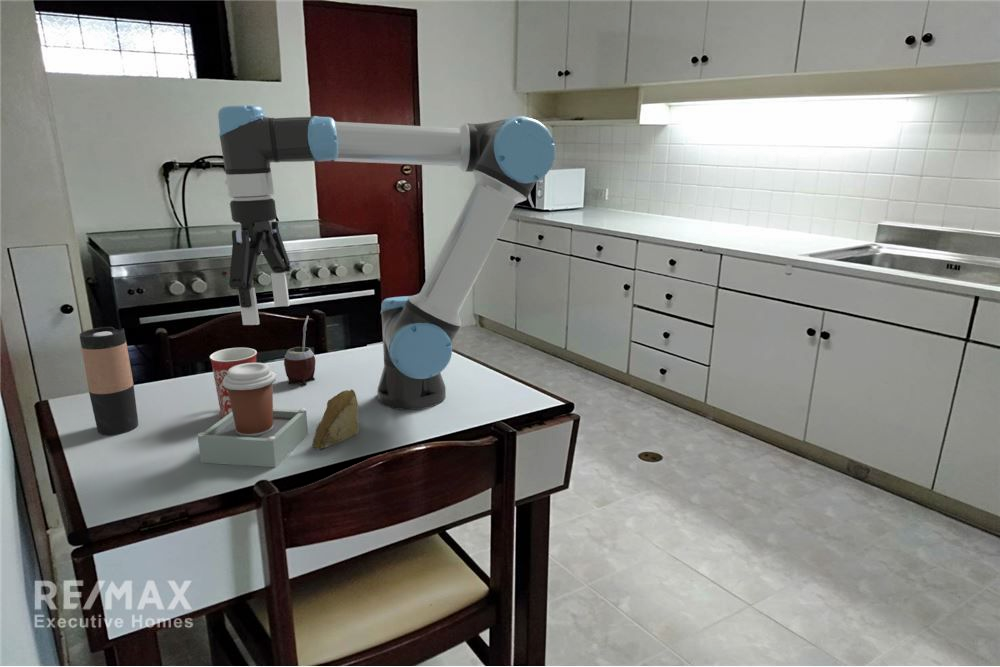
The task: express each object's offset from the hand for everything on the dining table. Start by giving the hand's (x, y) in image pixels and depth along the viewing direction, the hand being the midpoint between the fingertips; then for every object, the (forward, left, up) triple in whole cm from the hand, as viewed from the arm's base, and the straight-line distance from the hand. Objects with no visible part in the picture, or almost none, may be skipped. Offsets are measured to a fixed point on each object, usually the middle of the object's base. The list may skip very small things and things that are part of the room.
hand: (267, 314), depth 122 cm
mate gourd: (+8, -30, -24) cm, 39 cm away
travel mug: (+33, +1, -24) cm, 41 cm away
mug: (+13, -10, -24) cm, 30 cm away
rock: (-11, 0, -24) cm, 27 cm away
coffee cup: (+1, +6, -21) cm, 22 cm away
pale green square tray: (+2, +6, -24) cm, 25 cm away
